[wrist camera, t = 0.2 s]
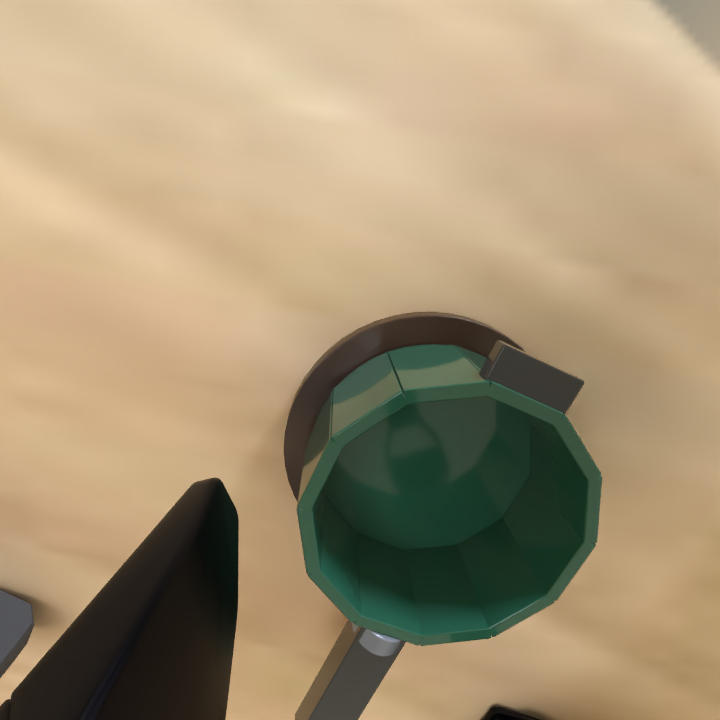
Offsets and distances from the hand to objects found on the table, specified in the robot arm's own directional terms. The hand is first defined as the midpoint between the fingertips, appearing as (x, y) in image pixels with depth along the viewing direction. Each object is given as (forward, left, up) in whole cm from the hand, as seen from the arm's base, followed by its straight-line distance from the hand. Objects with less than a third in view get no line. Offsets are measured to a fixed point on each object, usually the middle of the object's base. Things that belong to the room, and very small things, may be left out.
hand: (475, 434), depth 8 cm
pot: (-10, -5, -14) cm, 18 cm away
